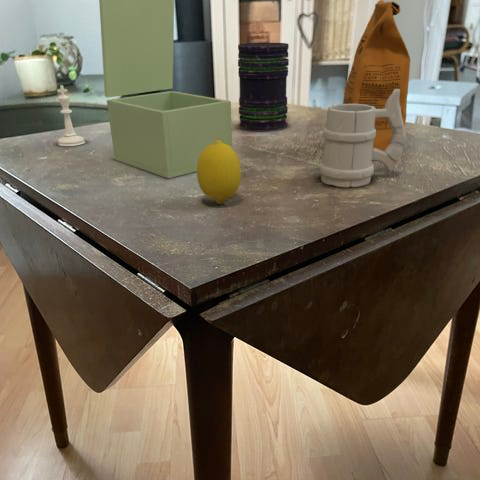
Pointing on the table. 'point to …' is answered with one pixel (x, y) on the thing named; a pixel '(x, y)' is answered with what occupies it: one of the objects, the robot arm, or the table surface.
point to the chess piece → (68, 122)
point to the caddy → (167, 130)
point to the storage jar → (263, 86)
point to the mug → (359, 142)
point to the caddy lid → (137, 45)
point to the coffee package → (380, 69)
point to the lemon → (219, 171)
